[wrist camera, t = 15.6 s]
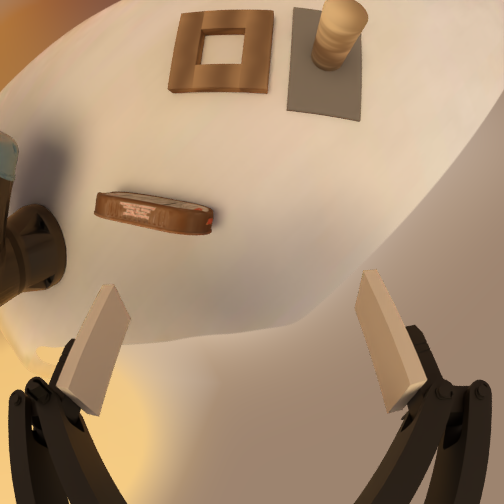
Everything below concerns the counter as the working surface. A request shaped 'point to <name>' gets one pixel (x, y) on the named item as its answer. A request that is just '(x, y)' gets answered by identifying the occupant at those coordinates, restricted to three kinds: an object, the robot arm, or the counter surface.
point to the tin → (155, 213)
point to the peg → (337, 32)
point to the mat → (322, 74)
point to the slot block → (222, 75)
